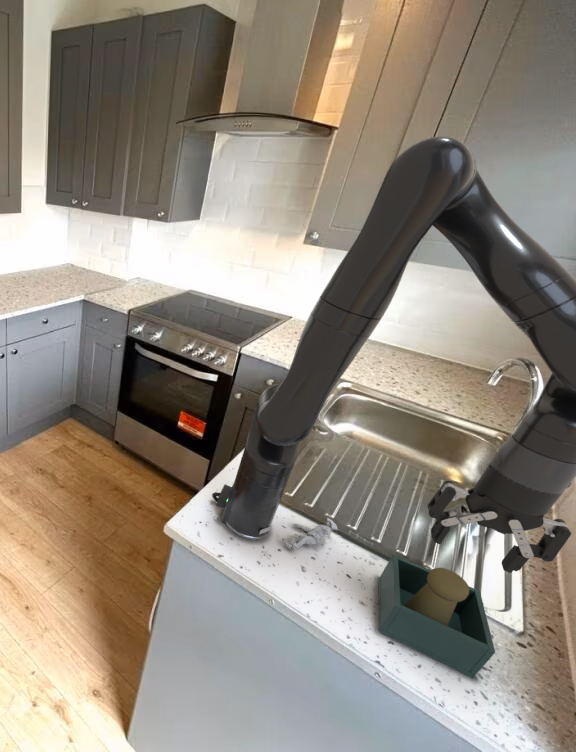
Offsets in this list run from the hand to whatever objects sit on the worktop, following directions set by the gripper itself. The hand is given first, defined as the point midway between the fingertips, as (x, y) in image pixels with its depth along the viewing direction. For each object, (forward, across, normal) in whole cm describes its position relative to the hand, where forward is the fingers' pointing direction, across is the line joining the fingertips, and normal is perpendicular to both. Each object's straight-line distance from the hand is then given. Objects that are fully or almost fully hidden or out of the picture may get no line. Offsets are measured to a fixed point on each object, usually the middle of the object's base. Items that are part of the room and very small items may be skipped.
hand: (469, 553), depth 67 cm
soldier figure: (+18, +19, -8) cm, 27 cm away
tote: (+18, 0, 0) cm, 18 cm away
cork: (+17, 0, 0) cm, 17 cm away
